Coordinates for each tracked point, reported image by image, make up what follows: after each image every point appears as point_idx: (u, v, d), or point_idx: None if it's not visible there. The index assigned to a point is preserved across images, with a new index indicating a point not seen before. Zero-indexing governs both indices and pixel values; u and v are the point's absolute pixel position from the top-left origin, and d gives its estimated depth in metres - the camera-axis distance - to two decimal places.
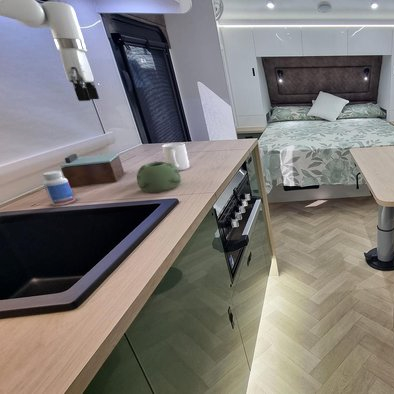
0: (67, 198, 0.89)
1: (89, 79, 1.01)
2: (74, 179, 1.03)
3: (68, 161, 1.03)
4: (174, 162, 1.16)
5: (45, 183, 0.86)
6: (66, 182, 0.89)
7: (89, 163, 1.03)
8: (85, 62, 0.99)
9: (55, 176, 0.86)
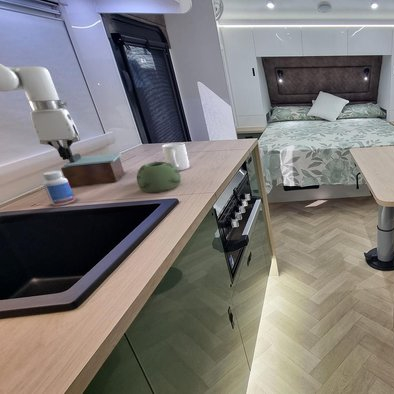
0: (67, 198, 0.89)
1: (53, 138, 1.00)
2: (74, 179, 1.03)
3: (72, 161, 1.03)
4: (174, 162, 1.16)
5: (45, 183, 0.86)
6: (66, 182, 0.89)
7: (93, 163, 1.04)
8: (47, 122, 0.98)
9: (55, 176, 0.86)
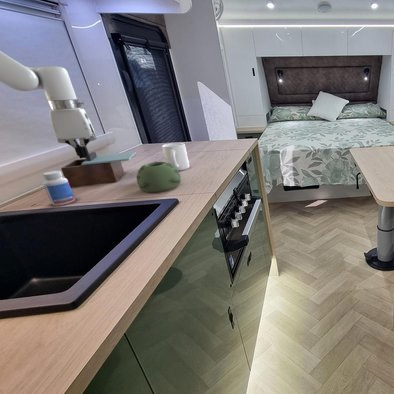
0: (67, 198, 0.89)
1: (71, 136, 1.02)
2: (74, 179, 1.03)
3: (89, 159, 1.05)
4: (174, 162, 1.16)
5: (45, 183, 0.86)
6: (66, 182, 0.89)
7: (109, 161, 1.05)
8: (65, 121, 1.00)
9: (55, 176, 0.86)
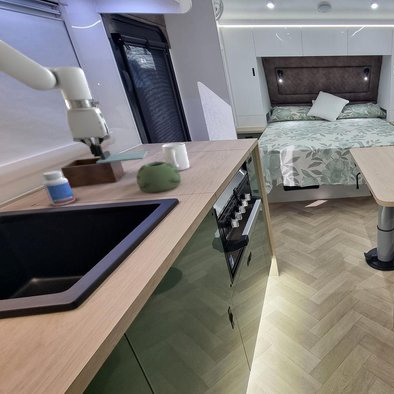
0: (67, 198, 0.89)
1: (86, 135, 1.03)
2: (74, 179, 1.03)
3: (103, 158, 1.07)
4: (174, 162, 1.16)
5: (45, 183, 0.86)
6: (66, 182, 0.89)
7: (123, 160, 1.07)
8: (81, 120, 1.01)
9: (55, 176, 0.86)
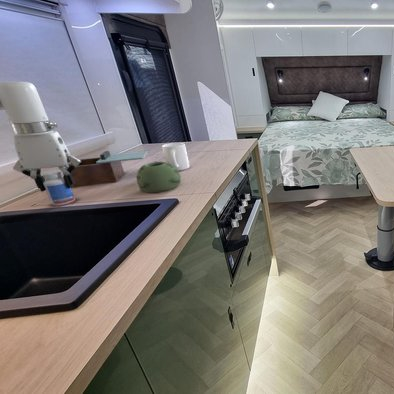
0: (67, 198, 0.89)
1: (41, 166, 0.84)
2: (74, 179, 1.03)
3: (103, 158, 1.07)
4: (174, 162, 1.16)
5: (45, 183, 0.86)
6: None
7: (123, 160, 1.07)
8: (33, 147, 0.81)
9: (55, 176, 0.86)
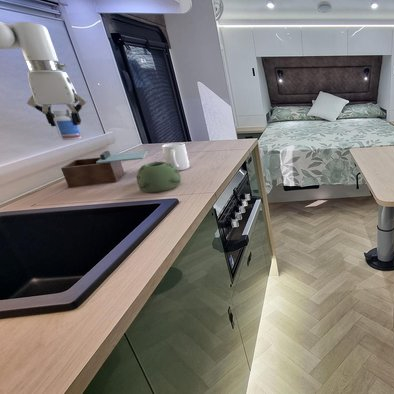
0: (74, 134, 0.99)
1: (51, 102, 0.94)
2: (74, 179, 1.03)
3: (103, 158, 1.07)
4: (174, 162, 1.16)
5: (55, 118, 0.96)
6: None
7: (123, 160, 1.07)
8: (45, 84, 0.92)
9: (64, 113, 0.97)
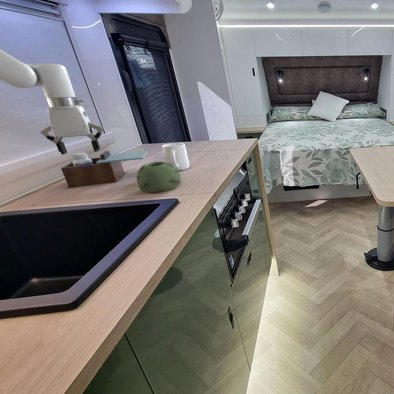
0: None
1: (69, 134, 1.01)
2: (74, 179, 1.03)
3: (103, 158, 1.07)
4: (174, 162, 1.16)
5: (74, 162, 1.05)
6: (91, 162, 1.08)
7: (123, 160, 1.07)
8: (63, 118, 0.99)
9: (82, 157, 1.05)
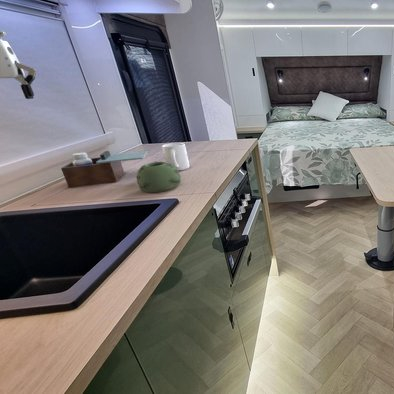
0: None
1: None
2: (74, 179, 1.03)
3: (103, 158, 1.07)
4: (174, 162, 1.16)
5: (74, 162, 1.05)
6: (91, 162, 1.08)
7: (123, 160, 1.07)
8: None
9: (82, 157, 1.05)
